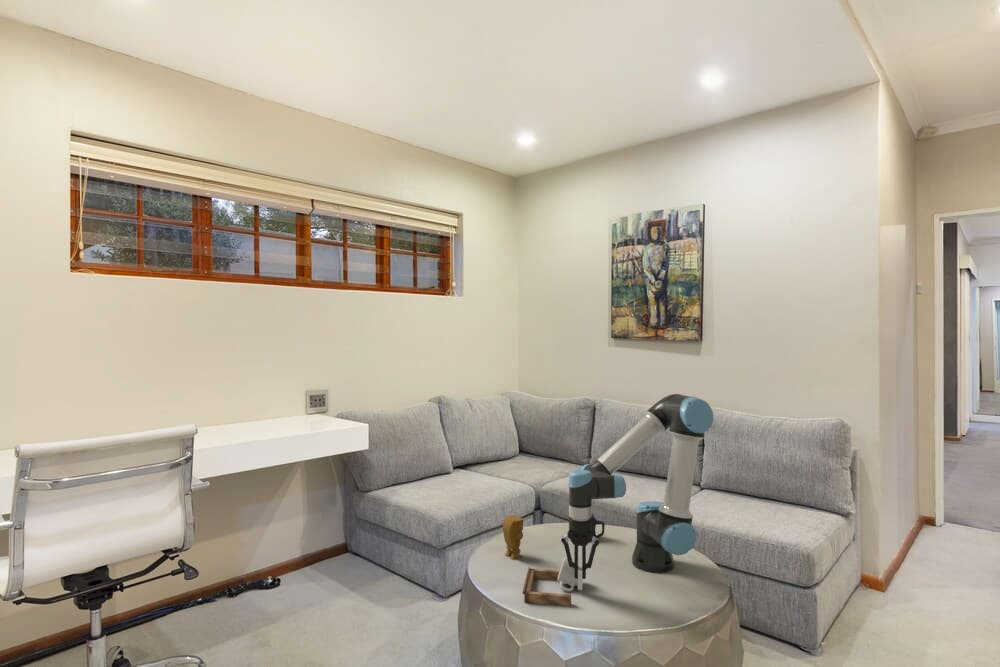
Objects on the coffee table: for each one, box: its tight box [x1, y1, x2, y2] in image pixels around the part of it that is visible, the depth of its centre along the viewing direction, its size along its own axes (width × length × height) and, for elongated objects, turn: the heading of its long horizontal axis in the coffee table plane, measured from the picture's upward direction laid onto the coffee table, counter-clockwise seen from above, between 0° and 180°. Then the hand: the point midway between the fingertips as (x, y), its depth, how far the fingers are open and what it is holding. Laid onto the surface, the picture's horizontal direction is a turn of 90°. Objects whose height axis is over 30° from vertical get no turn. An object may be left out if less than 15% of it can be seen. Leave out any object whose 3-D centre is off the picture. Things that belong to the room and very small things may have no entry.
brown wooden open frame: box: [522, 566, 572, 607], centre depth 185 cm, size 16×19×4 cm
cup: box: [556, 557, 584, 593], centre depth 187 cm, size 11×8×8 cm
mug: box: [589, 512, 605, 543], centre depth 229 cm, size 12×9×11 cm
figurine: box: [502, 514, 524, 561], centre depth 213 cm, size 7×7×15 cm
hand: (580, 587), depth 183 cm, fingers closed, pressing on cup
